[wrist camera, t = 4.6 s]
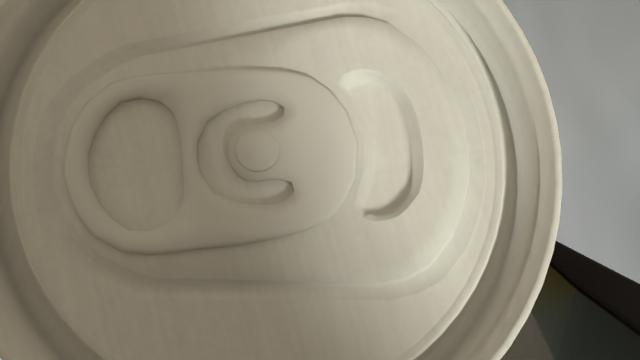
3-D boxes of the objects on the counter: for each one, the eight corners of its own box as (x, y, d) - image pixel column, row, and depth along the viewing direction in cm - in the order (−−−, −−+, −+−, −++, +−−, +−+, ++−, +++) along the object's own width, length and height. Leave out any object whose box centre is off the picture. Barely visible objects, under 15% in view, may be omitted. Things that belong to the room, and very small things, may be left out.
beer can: (356, 341, 20) (676, 466, 5) (168, 367, 19) (-124, 612, 4) (332, 162, 21) (536, -172, 6) (153, 179, 20) (-115, -157, 5)
